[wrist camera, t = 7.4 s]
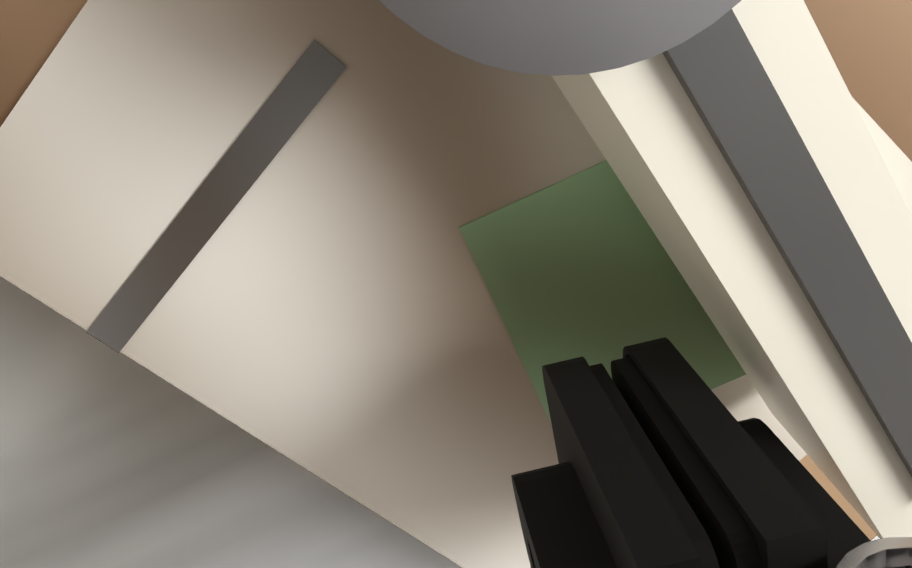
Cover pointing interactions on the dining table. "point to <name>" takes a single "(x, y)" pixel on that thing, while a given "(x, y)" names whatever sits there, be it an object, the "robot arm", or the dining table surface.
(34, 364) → the dining table surface
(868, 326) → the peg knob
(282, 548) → the dining table surface
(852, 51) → the board
